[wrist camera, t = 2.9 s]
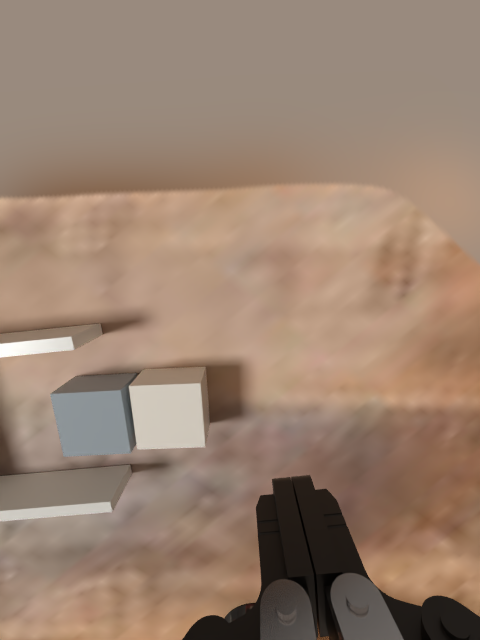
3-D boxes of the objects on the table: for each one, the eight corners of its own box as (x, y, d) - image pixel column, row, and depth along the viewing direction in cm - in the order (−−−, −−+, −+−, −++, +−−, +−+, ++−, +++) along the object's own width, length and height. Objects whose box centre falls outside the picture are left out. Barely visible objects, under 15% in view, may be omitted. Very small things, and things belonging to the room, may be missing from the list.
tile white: (206, 365, 21) (200, 383, 18) (210, 421, 22) (205, 447, 19) (144, 368, 21) (128, 385, 18) (151, 423, 22) (137, 449, 19)
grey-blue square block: (137, 371, 21) (120, 390, 18) (145, 427, 22) (130, 453, 19) (77, 375, 21) (50, 393, 18) (87, 430, 22) (63, 456, 19)
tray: (100, 323, 20) (71, 336, 17) (132, 473, 23) (112, 511, 19) (-74, 341, 20) (-138, 358, 17) (-24, 487, 23) (-71, 527, 19)
